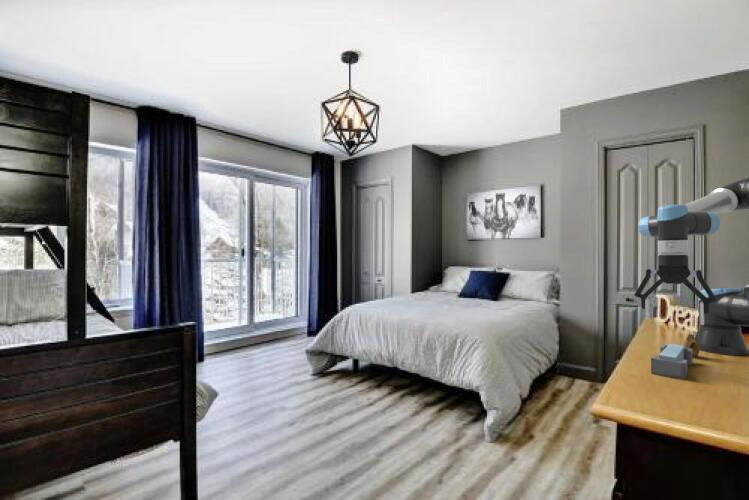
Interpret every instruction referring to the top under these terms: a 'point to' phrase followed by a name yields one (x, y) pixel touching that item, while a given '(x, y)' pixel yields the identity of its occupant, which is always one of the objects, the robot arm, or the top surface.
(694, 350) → the rock
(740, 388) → the top surface
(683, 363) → the end caps
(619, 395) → the top surface
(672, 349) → the slat
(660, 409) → the top surface
